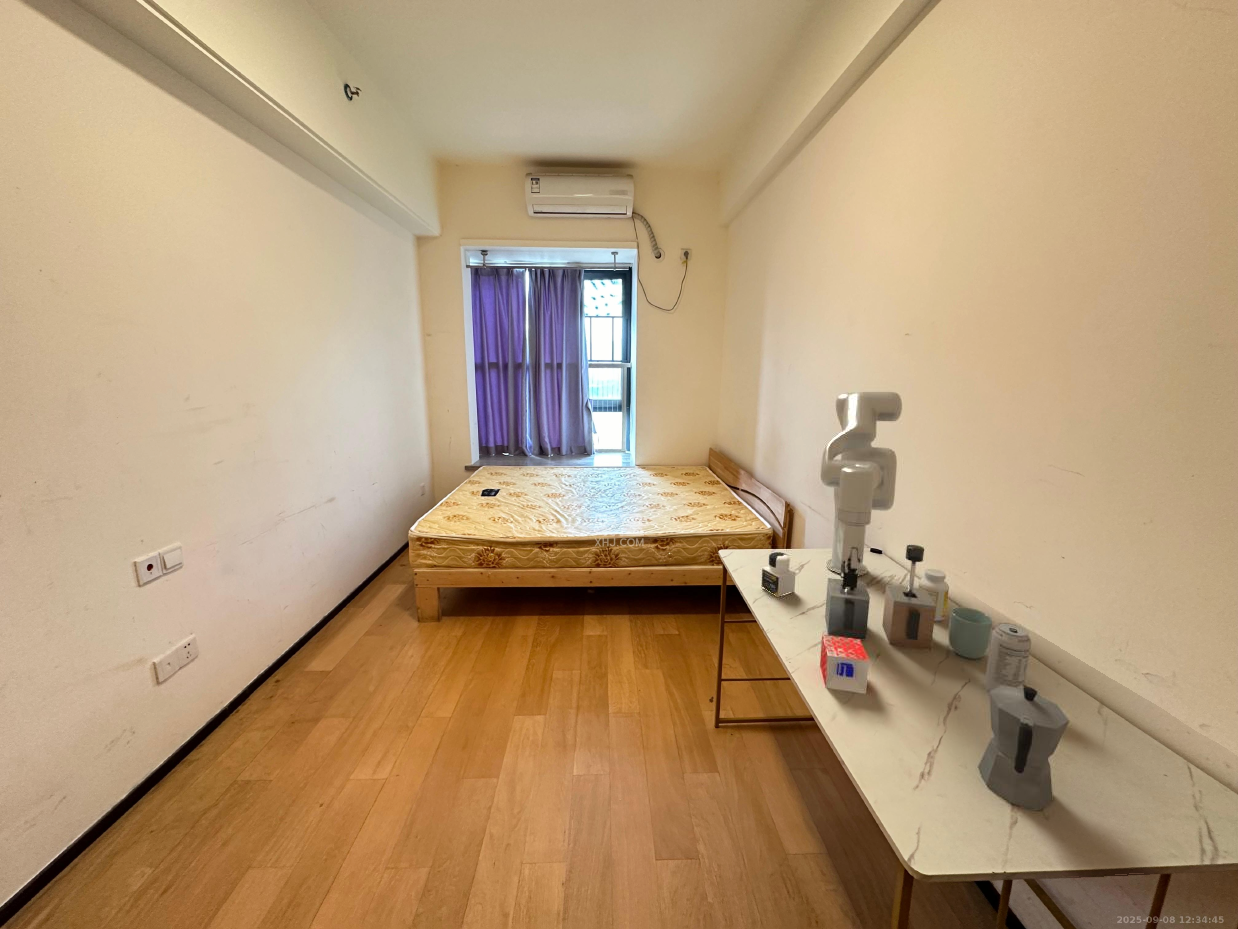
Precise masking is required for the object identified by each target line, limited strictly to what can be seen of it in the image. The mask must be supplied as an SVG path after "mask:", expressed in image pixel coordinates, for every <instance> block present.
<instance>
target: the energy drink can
mask: <svg viewBox="0 0 1238 929" xmlns="http://www.w3.org/2000/svg"><path fill="white" fill-rule="evenodd" d="M1029 634H1030V633H1029V631H1028V630H1027V629H1026V628H1025V627H1022V626H1020V625H1017V624H1015V623H1011V622H999V623H997V625H996V627H995V628H994V629H992V632H991V638H990V644H989V646H990V647H989V651H988V652H989V653H988V660H987V665H986V673H985V677H984V686H985V688H986V691H987V692H988V693H989V692H990V691H992V690H994V689H996V688H998V687H999V686H1001V685H1003V686H1009V687H1014V688H1017V687H1018V686H1020V685H1025V681H1026V677H1027V670H1028V665H1029V658H1030V652H1031V648H1032V640H1031V638H1030V635H1029Z"/></svg>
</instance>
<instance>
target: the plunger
mask: <svg viewBox="0 0 1238 929" xmlns="http://www.w3.org/2000/svg"><path fill="white" fill-rule="evenodd" d="M924 553H925V547H923V546H920V545H917V544H907V545H906V551H905V559H906V560H908V561H910V562H911V563H910V571H909V580H908V581H909V582H908V587H909V588H908V597H911V598H912V595H913V588H914V585H915V584H914V583H915V577H916V568H917V563H921V562H924Z"/></svg>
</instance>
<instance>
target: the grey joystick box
mask: <svg viewBox="0 0 1238 929" xmlns="http://www.w3.org/2000/svg"><path fill="white" fill-rule="evenodd" d="M825 600H826V601H825V613H824V614H825V615H824V618H825V625H826V631H827V636H835V637H844V638H852V639H860V641H861V640H862V641H866V640H867V634H868V632H867V631H868V622H869V620H868V619H869V611H870V603H871V602H870V600H871V598H870V594H869V592H868V589H867V587H866V584H865V581H859V580H857V588H850V590H847V589H846V587H844V586H843V579H842V578H841V579H840V578H831V577H828V578H827V585H826V598H825Z"/></svg>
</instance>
